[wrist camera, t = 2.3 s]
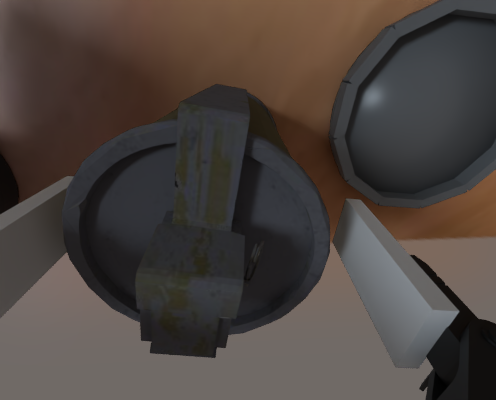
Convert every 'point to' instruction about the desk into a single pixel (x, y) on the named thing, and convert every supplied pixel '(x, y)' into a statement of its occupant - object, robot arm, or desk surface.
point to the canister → (197, 224)
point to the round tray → (421, 107)
